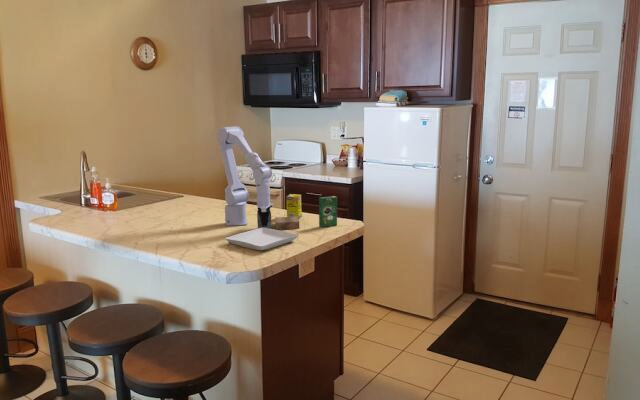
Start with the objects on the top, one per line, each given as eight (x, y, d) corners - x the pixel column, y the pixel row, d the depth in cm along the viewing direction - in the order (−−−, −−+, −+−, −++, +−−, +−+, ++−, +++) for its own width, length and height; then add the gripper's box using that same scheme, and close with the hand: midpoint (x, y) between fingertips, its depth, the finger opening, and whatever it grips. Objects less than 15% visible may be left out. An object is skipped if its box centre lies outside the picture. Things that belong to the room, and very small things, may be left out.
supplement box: (299, 219, 239) (298, 196, 237) (286, 219, 240) (285, 196, 238) (302, 216, 245) (301, 194, 243) (289, 216, 246) (289, 194, 244)
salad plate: (262, 234, 217) (262, 226, 216) (300, 242, 203) (299, 233, 203) (223, 245, 201) (223, 237, 200) (261, 255, 187) (261, 246, 187)
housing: (257, 230, 221) (257, 212, 220) (258, 228, 225) (257, 210, 224) (271, 229, 222) (271, 212, 220) (271, 227, 226) (270, 210, 224)
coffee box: (334, 224, 229) (334, 195, 227) (337, 225, 227) (337, 196, 224) (318, 226, 226) (318, 197, 223) (322, 227, 223) (321, 198, 221)
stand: (276, 229, 222) (276, 222, 221) (275, 223, 232) (275, 217, 231) (299, 228, 223) (299, 221, 222) (297, 222, 233) (297, 216, 232)
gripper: (272, 196, 214) (274, 228, 216) (272, 190, 228) (273, 220, 231) (255, 197, 213) (257, 229, 216) (256, 191, 227) (257, 221, 230)
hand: (264, 224), depth 223 cm, fingers closed on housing, 4 cm apart
